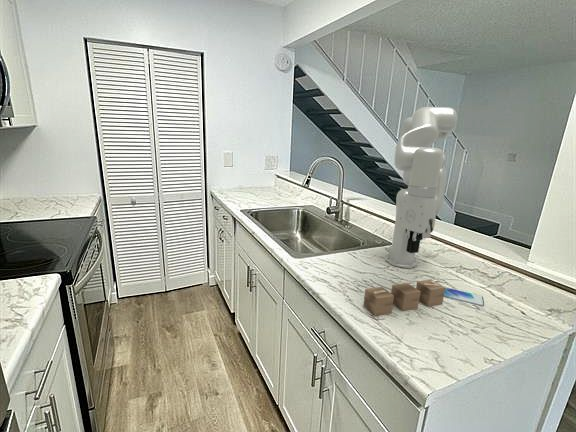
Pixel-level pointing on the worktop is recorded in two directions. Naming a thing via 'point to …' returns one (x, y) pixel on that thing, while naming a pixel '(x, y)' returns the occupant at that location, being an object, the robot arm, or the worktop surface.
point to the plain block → (405, 296)
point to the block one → (378, 301)
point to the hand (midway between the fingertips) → (412, 251)
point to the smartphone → (464, 296)
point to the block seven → (430, 292)
